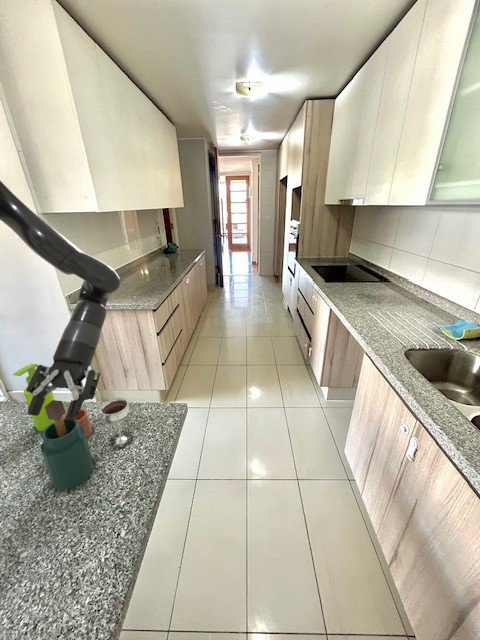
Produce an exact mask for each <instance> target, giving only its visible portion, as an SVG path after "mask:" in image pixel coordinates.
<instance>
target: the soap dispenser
mask: <svg viewBox="0 0 480 640" xmlns="http://www.w3.org/2000/svg"><path fill="white" fill-rule="evenodd" d="M38 365H39V364H38V363H34V362H33V363H29V364H28V365H25V366H23V367H21V368H19V369H18V370H16V371H15V372H13V374H12V376H16V377H21V376H23V375H24V374H26V373H27V374H28V376H26V378H25V382H26V384H27V387H28V385H29V383H30V381H31V379H32V377H33V375H34V372H35V370H36V368H37V366H38ZM37 383H38V382H37ZM37 383H36V385H37ZM36 385H35V387H36ZM27 387H25V388H24V389H23V393H24V397H25V400H26V403H27V406H28V407H29V405H30V403H31V401H32V398H33V394H32V393H30V392H27V391H26V389H27ZM43 398H45V401H44V403H43V406H42V408H41V411H40V413H39V415H37V416H35V415H31V417H32V420H33V424H34V426H35V429H36V430H37V431H38V432H43V430H44V429H45V428H47V427H48V426H49V425H50V424H52V423H54V420H53V419H48V416H47V413H46V410H45V406H46V405H47V404H49V403H50V402H51V401H52V400H56V399H55V396H54V391H51V392H50V393H49V394H47V395H46V396H45V397H43Z"/></svg>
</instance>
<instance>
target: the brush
mask: <svg viewBox="0 0 480 640" xmlns="http://www.w3.org/2000/svg"><path fill="white" fill-rule="evenodd" d="M45 410H46V413H47V416H48V419H53V420H54V424H55V427H56V430H57V433H58V437H59V438H60V437H63V436H65V435H67V431H66V428H65V424H64V421H63V416H64V415H65V414H66V409H65V405H64V403H63V400H57V399H55V400H52V401H51V402H50V403H49V404H47V405H46V406H45Z"/></svg>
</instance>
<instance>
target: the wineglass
mask: <svg viewBox="0 0 480 640" xmlns="http://www.w3.org/2000/svg"><path fill="white" fill-rule="evenodd" d="M99 412H100V414H101V415H100V417H101V420H102V421H103V423H104V424H106V425H107V426H113V427H114V426H116V428H117V432H118V436H119V437H118V438H117V439H116V440H115V443H116V444H117V445H123V444H125V443H126V441H127V437H126V436H122V431H121V424H123V423H124V422H126V420H127V419H128V418H129V416H130V413H131V408H130V405H129V400H127V398H124V397H115V398H111V399H108V400H107V401H105V402H104V403H103V404H102V405H101V406H100V407H99Z"/></svg>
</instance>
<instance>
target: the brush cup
mask: <svg viewBox="0 0 480 640" xmlns="http://www.w3.org/2000/svg"><path fill="white" fill-rule="evenodd" d="M66 414H67V413H65V414H64V415H63V416H62V418H63V419H65V417H66ZM89 417H90V416H89V413H88V411H87V409H85V408H81V409H80V412H79V415H78V416H77V417H76V418H75V419H76V420H77V421H78V422H79V426H80V427H82V428H83V429H84V430H85V434H86V438H87V439H88V438H89V437H90V435H92V432H93V431H92V425H91V422H90V418H89Z"/></svg>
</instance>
